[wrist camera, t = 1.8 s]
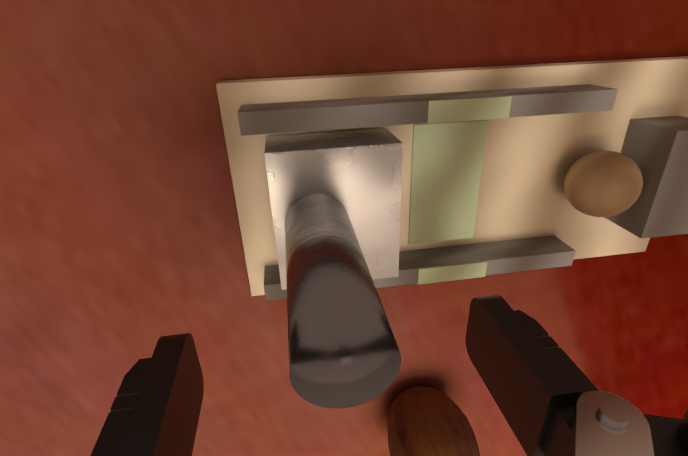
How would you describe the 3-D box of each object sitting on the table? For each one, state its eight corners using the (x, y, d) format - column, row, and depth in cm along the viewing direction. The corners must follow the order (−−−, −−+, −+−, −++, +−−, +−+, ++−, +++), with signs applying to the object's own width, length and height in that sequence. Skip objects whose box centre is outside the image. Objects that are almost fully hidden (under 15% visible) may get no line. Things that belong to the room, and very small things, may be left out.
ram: (386, 128, 20) (506, 238, 10) (384, 248, 23) (473, 432, 13) (266, 136, 19) (252, 265, 9) (281, 259, 23) (284, 463, 12)
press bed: (693, 55, 22) (775, 61, 19) (631, 242, 28) (685, 275, 24) (219, 80, 19) (205, 93, 16) (252, 284, 25) (248, 329, 21)
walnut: (616, 140, 23) (670, 159, 20) (599, 199, 24) (648, 224, 21) (557, 145, 22) (603, 164, 19) (545, 204, 24) (586, 231, 21)
